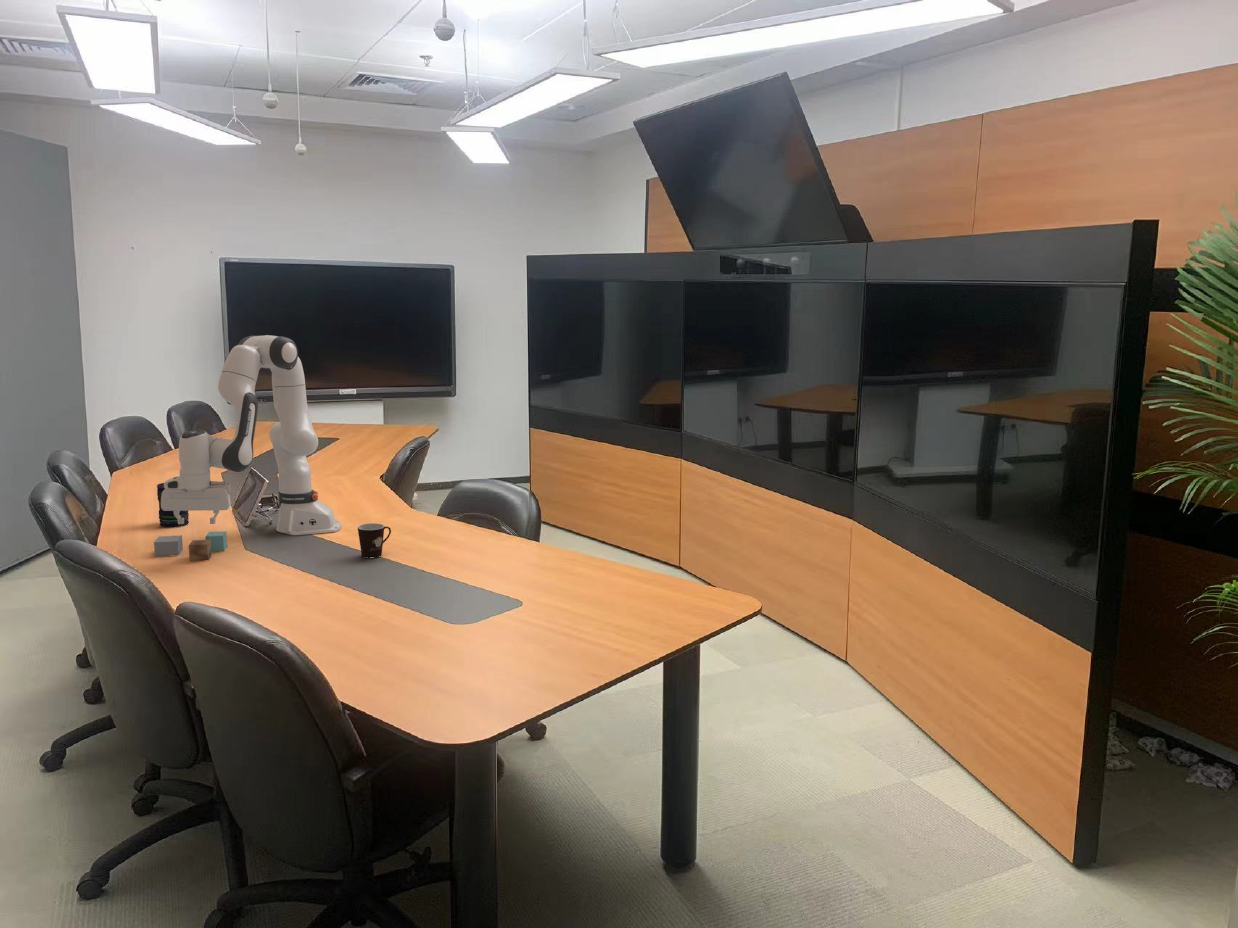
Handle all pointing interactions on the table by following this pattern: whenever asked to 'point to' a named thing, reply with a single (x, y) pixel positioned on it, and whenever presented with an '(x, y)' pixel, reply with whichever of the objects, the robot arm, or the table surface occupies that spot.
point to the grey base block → (168, 545)
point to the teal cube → (217, 540)
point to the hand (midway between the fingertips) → (197, 523)
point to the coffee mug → (372, 539)
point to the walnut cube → (200, 550)
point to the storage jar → (169, 513)
